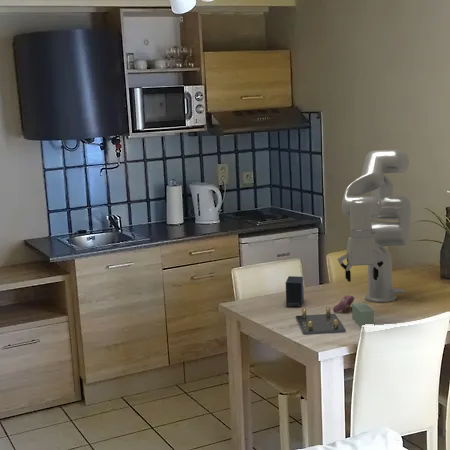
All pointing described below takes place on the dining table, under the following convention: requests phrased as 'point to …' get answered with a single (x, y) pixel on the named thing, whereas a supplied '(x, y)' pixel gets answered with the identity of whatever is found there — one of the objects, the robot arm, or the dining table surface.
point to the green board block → (362, 314)
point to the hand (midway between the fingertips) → (362, 280)
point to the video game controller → (344, 304)
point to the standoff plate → (319, 323)
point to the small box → (294, 291)
